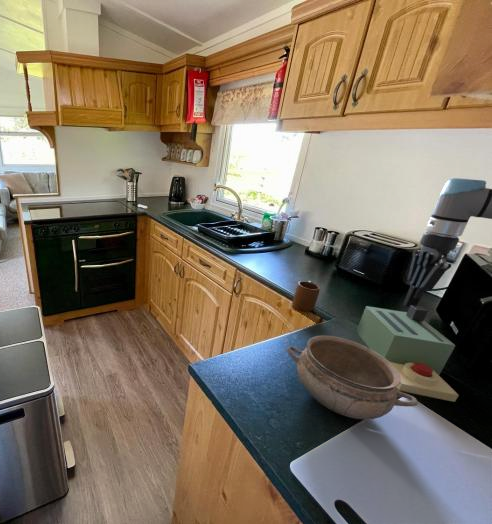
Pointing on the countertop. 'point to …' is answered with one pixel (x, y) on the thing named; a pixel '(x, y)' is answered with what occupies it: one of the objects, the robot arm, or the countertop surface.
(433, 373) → the box
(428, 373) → the button
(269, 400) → the countertop surface
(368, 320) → the toaster
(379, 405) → the cooking pot
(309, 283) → the mug
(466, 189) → the robot arm
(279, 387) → the countertop surface
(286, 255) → the countertop surface
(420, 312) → the toaster slider
